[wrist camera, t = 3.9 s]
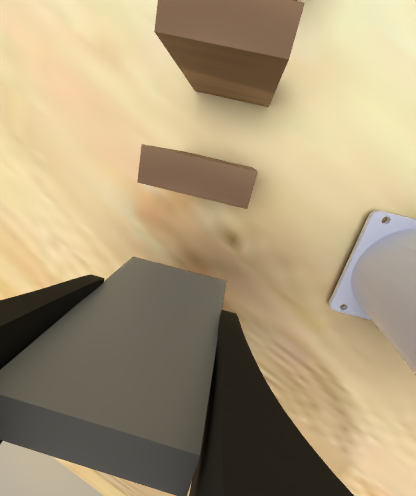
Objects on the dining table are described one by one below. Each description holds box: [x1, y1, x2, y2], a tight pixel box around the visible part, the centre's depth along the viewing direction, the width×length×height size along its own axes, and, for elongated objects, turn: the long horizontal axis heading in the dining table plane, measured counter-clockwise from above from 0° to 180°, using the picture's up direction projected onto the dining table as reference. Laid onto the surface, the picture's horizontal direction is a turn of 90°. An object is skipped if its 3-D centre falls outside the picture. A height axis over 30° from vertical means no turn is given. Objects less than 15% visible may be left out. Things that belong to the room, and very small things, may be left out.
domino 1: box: [155, 0, 304, 107], centre depth 12 cm, size 2×5×8 cm, turn 78°
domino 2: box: [138, 144, 257, 209], centre depth 14 cm, size 2×5×8 cm, turn 78°
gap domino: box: [0, 257, 226, 496], centre depth 9 cm, size 2×5×8 cm, turn 78°
